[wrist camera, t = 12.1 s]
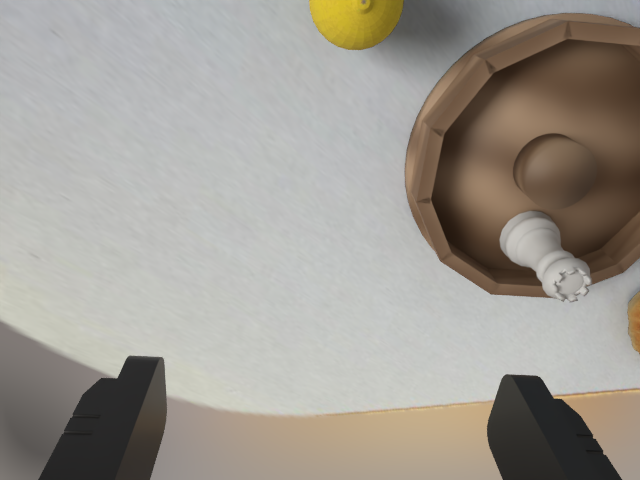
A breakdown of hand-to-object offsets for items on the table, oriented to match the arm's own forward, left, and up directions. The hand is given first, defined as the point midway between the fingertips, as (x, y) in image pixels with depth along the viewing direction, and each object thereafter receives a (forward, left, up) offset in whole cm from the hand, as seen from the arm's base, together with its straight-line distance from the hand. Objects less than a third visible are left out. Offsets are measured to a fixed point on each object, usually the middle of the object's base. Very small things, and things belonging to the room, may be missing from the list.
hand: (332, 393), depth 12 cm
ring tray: (+2, +18, -28) cm, 33 cm away
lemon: (-8, +2, -28) cm, 29 cm away
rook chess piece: (+8, +18, -27) cm, 34 cm away
